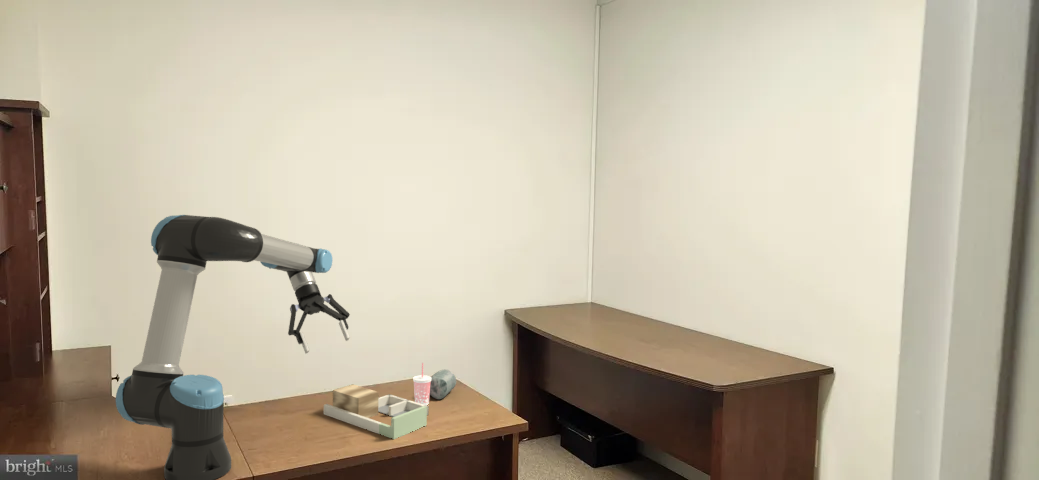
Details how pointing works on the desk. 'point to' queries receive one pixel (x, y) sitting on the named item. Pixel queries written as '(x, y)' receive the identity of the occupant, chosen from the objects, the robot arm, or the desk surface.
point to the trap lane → (402, 411)
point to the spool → (442, 383)
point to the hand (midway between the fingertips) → (328, 345)
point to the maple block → (356, 400)
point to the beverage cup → (422, 388)
